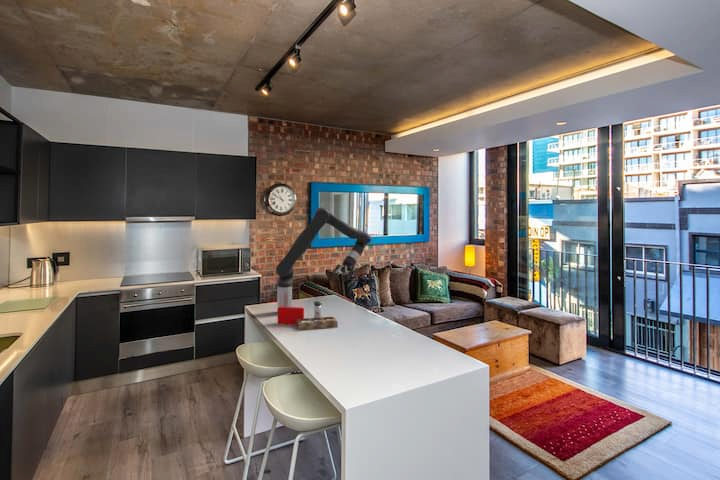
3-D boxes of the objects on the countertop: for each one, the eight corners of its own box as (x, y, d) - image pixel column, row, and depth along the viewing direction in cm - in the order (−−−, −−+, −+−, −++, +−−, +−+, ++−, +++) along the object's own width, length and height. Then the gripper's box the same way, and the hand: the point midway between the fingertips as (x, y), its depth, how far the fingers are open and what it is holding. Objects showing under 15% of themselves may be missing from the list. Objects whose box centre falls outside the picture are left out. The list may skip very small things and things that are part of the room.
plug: (312, 319, 229) (313, 301, 229) (320, 318, 231) (320, 300, 230) (314, 321, 225) (314, 302, 224) (321, 320, 227) (322, 302, 226)
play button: (303, 324, 219) (304, 307, 219) (302, 325, 216) (302, 308, 216) (279, 323, 221) (279, 306, 220) (277, 324, 218) (277, 307, 217)
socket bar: (299, 330, 207) (299, 322, 207) (296, 324, 216) (296, 317, 216) (337, 327, 214) (337, 320, 214) (333, 322, 223) (333, 315, 223)
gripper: (340, 254, 237) (327, 274, 229) (357, 256, 228) (343, 277, 220) (346, 262, 241) (333, 281, 233) (362, 264, 232) (350, 285, 224)
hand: (338, 279), depth 227 cm, fingers open, 8 cm apart
